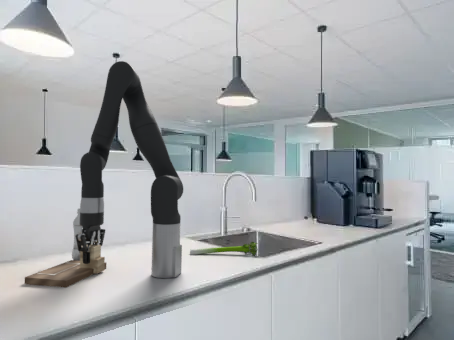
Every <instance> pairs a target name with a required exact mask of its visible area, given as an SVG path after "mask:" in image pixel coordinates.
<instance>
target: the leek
mask: <svg viewBox="0 0 454 340" xmlns="http://www.w3.org/2000/svg"><path fill="white" fill-rule="evenodd" d="M258 244H259V243H258V242H254V241H250V243H243V244H242V245H239V246H238V245H237V246H224V247H223V246H221V247H220V246H219V247H209V248H207V247H206V248H194V249H190V250H189V255H190V256H194V255H195V256H198V255H204V254H207V255H208V254H215V253H228V252H229V253H231V252H234V253H235V252H237V253H238V252H242V253H244V254H247V253H250V254H251V255H252V256H256V254H257V252H258V251H259V250H258V246H257V245H258Z"/></svg>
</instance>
